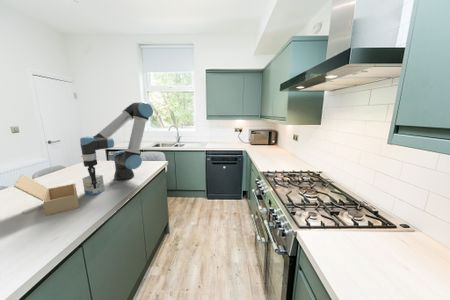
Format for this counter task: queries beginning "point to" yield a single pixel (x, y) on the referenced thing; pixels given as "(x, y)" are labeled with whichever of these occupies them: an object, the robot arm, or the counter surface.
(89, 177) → the ink box
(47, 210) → the box
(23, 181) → the lid
